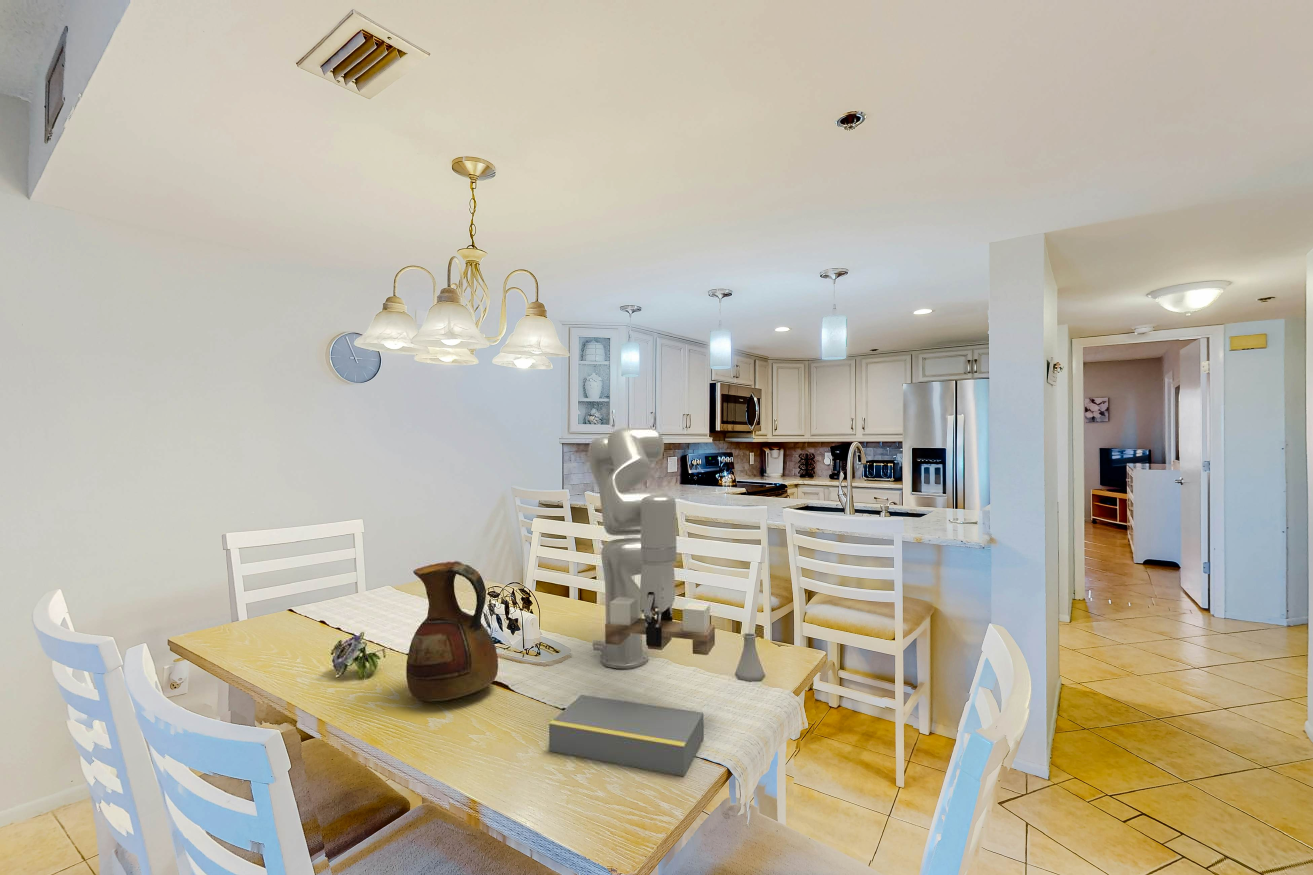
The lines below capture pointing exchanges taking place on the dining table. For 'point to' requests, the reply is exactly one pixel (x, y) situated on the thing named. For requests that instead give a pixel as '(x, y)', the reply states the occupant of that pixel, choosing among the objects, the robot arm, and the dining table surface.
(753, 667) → the flask
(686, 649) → the dining table surface
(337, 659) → the passion flower
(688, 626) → the block
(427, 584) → the ceramic pitcher
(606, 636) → the pallet
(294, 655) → the dining table surface
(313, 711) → the dining table surface
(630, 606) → the block
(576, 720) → the block
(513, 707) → the dining table surface
